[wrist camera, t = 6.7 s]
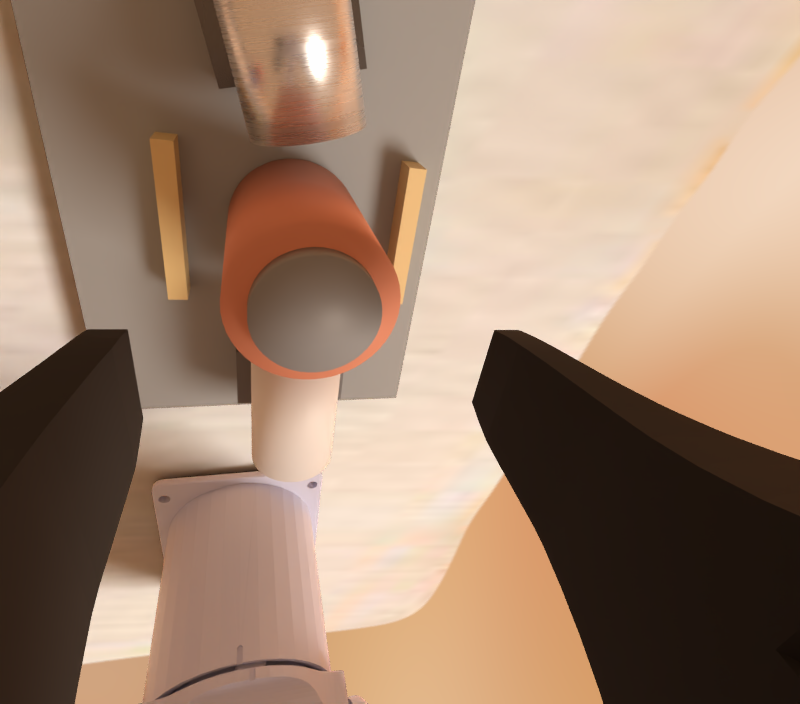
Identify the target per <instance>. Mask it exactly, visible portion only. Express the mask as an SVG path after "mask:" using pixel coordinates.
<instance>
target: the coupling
mask: <svg viewBox="0 0 800 704" xmlns="http://www.w3.org/2000/svg"><path fill="white" fill-rule="evenodd" d="M400 299H401V294H400V285H399V281H398V277H397V274H396V271H395V269H394V267H393V265H392V263H391V261H390V260H389V258H388V256H387V255H386V253H385V251H384V250H383V248H382V246H381V245H380V243H379V241H378V240H377V238H376V236H375V235H374V233H373V232H372V230H371V228H370V227H369V225H368V223H367V222H366V220H365V218H364V217H363V215H362V213H361V212H360V210H359V208H358V207H357V205H356V203H355V202H354V200H353V198H352V197H351V195H350V193H349V192H348V190H347V188H346V187H345V186H344V184H343V183H342V182H341V181H340V180H339V179H338V178H337V177H336V176H335V175H334V174H333V173H331V172H330V171H329V170H327V169H326V168H324V167H322V166H320V165H318V164H315V163H313V162H310V161H306V160H301V159H280V160H274V161H271V162H268V163H265V164H263V165H261V166H259V167H257V168H256V169H254V170H252V171H251V172H250V173H249V174H248V175H246V176H245V177H244V178H243V180H242V181H241V182H240V183H239V184H238V186H237V188H236V189H235V191H234V193H233V195H232V198H231V200H230V204H229V208H228V218H227V228H226V239H225V250H224V261H223V272H222V283H221V294H220V313H221V318H222V322H223V325H224V328H225V331H226V333H227V335H228V337H229V338H230V340H231V342H232V343H233V345H234V346H235V347H236V348H237V350H238V351H239V352H240V353H241V354H242V355H243V356H244V357H245V358H246V359H248V360H249V361H250V362H252V363H253V364H255V365H256V366H258V367H260V368H261V369H263V370H266V371H268V372H270V373H272V374H276V375H279V376H282V377H287V378H293V379H320V378H327V377H331V376H335V375H338V374H341V373H344V372H347V371H349V370H351V369H353V368H355V367H357V366H358V365H360V364H362V363H363V362H365V361H366V360H367V359H369V358H370V357H371V356H373V355H374V354H375V353H376V352H377V351H378V350H379V349H380V348H381V346H382V345H383V344H384V343H385V342H386V340H387V339H388V337H389V336H390V334H391V332H392V330H393V328H394V326H395V324H396V321H397V318H398V315H399V309H400Z"/></svg>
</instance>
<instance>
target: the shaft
mask: <svg viewBox="0 0 800 704" xmlns="http://www.w3.org/2000/svg"><path fill="white" fill-rule="evenodd" d="M194 3H195V6H196V10H197V13H198V17H199V20H200V24H201V28H202V31H203V35H204V38H205V42H206V45H207V49H208V52H209V56H210V59H211V63H212V66H213V70H214V73H215V77H216V80H217V84H218V87H219V89H223V88H230V87H236V90H237V94H238V97H239V101H240V105H241V109H242V112H243V116H244V120H245V124H246V128H247V131H248V135H249V139H250V142H251V143H253V144H256V145H260V146H273V147H280V146H297V145H306V144H313V143H319V142H325V141H330V140H334V139H338V138H342V137H346V136H349V135H352V134H354V133H357V132H359V131H361V130H362V129H364V128H365V127H366V116H365V108H364V100H363V92H362V84H361V76H360V70H362V69H367V65H366V56H365V47H364V39H363V30H362V22H361V13H360V4H359V0H194Z"/></svg>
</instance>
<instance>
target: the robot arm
mask: <svg viewBox="0 0 800 704" xmlns="http://www.w3.org/2000/svg"><path fill="white" fill-rule="evenodd" d="M472 403H473V406H474V409H475V412H476V415H477V418H478V420H479V423H480V426H481V428H482V431H483V433H484V436H485V438H486V441H487V443H488V444H489V446H490V448H491V450H492V452H493V454H494V456H495V458H496V459H497V461H498V463H499V465H500V467H501V469H502V470H503V472H504V474H505V476H506V477H507V479H508V481H509V483H510V485H511V486H512V488H513V490H514V492H515V494H516V495H517V497H518V499H519V501H520V503H521V504H522V506H523V508H524V510H525V512H526V513H527V515H528V517H529V519H530V521H531V522H532V524H533V526H534V528H535V530H536V532H537V534H538V536H539V538H540V540H541V542H542V544H543V546H544V548H545V551H546V553H547V555H548V558H549V560H550V563H551V565H552V567H553V570H554V572H555V574H556V577H557V579H558V581H559V584H560V586H561V588H562V591H563V593H564V596H565V599H566V601H567V604H568V606H569V609H570V611H571V614H572V616H573V619H574V622H575V624H576V627H577V629H578V632H579V634H580V637H581V640H582V643H583V646H584V648H585V651H586V654H587V657H588V660H589V662H590V665H591V668H592V671H593V674H594V677H595V680H596V683H597V685H598V688H599V691H600V694H601V697H602V700H603V704H800V460H798V459H794V458H792V457H789V456H786V455H782V454H780V453H777V452H774V451H771V450H769V449H766V448H763V447H760V446H758V445H755V444H752V443H749V442H747V441H744V440H741V439H739V438H736V437H733V436H731V435H728V434H726V433H723V432H721V431H719V430H716V429H714V428H711V427H709V426H707V425H704V424H702V423H700V422H697V421H695V420H693V419H691V418H688V417H686V416H684V415H681V414H679V413H677V412H675V411H673V410H671V409H669V408H666V407H664V406H662V405H660V404H658V403H656V402H654V401H652V400H650V399H648V398H646V397H644V396H642V395H640V394H638V393H636V392H634V391H632V390H631V389H629V388H627V387H625V386H623V385H621V384H619V383H617V382H616V381H613V380H612V379H610V378H608V377H606V376H604V375H603V374H601V373H599V372H597V371H596V370H594V369H592V368H590V367H588V366H587V365H585V364H583V363H581V362H579V361H578V360H576V359H574V358H572V357H571V356H569V355H567V354H565V353H563V352H562V351H560V350H558V349H556V348H554V347H553V346H551V345H549V344H547V343H545V342H543V341H541V340H539V339H537V338H535V337H533V336H531V335H529V334H527V333H524V332H522V331H519V330H494V333H493V336H492V339H491V343H490V346H489V349H488V352H487V356H486V359H485V362H484V365H483V369H482V372H481V375H480V378H479V381H478V385H477V388H476V391H475V394H474V398H473V401H472ZM142 422H143V415H142V409H141V403H140V397H139V392H138V386H137V380H136V374H135V368H134V362H133V357H132V351H131V345H130V339H129V333H128V329H87V330H86V331H84V332H83V333H81V334H80V335H78V336H77V337H75V338H74V339H73V340H71V341H70V342H68V343H67V344H66V345H64V346H63V347H62V348H60V349H59V350H58V351H56V352H55V353H54V354H52V355H51V356H50V357H48V358H47V359H45V360H44V361H43V362H41V363H40V364H39V365H37V366H36V367H35V368H33V369H32V370H30V371H29V372H28V373H26V374H25V375H23V376H22V377H21V378H19V379H18V380H17V381H15V382H14V383H12V384H11V385H10V386H8V387H7V388H5V389H4V390H3V391H1V392H0V704H75V698H76V693H77V687H78V682H79V677H80V671H81V666H82V661H83V656H84V651H85V646H86V641H87V636H88V631H89V626H90V621H91V616H92V612H93V608H94V604H95V600H96V596H97V593H98V589H99V585H100V582H101V579H102V575H103V572H104V569H105V566H106V562H107V559H108V556H109V553H110V549H111V546H112V543H113V540H114V536H115V533H116V530H117V527H118V523H119V520H120V517H121V514H122V510H123V507H124V504H125V501H126V497H127V494H128V491H129V487H130V484H131V481H132V477H133V474H134V470H135V467H136V461H137V455H138V449H139V443H140V436H141V429H142ZM310 482H312V483H310ZM321 486H322V472H321V473H319V474H318V475H316V476H315V477H313V478H310V479H307V480H304V481H299V482H282V481H277V480H274V479H271V478H269V477H267V476H265V475H264V474H262V473H261V472H260V471H255V472H243V473H231V474H219V475H207V476H196V477H184V478H172V479H162V480H158V481H156V482H155V483H154V484H153V487H152V497H153V503H154V508H155V514H156V519H157V525H158V530H159V536H160V542H161V547H162V553H163V558H164V564H163V570H162V577H161V584H160V590H159V597H158V604H157V610H156V617H155V623H154V630H153V637H152V643H151V650H150V657H149V664H148V670H147V676H146V683H145V690H144V696H143V703H140V704H368V703H367V702H366V701H365V700H364V699H363V698H362V697H360V696H357V695H355V696H351V697H347V690H346V684H345V677H344V671H342V670H340V671H331V669H330V661H329V653H328V646H327V638H326V630H325V623H324V615H323V607H322V600H321V592H320V584H319V577H318V569H317V561H316V554H315V543H316V534H317V524H318V514H319V505H320V495H321Z"/></svg>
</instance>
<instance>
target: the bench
mask: <svg viewBox="0 0 800 704" xmlns="http://www.w3.org/2000/svg"><path fill="white" fill-rule="evenodd" d="M11 4H12V8H13V12H14V17H15V21H16V26H17V30H18V34H19V39H20V43H21V47H22V52H23V56H24V61H25V65H26V69H27V74H28V78H29V82H30V87H31V91H32V96H33V100H34V104H35V109H36V113H37V117H38V122H39V126H40V130H41V135H42V139H43V144H44V148H45V152H46V157H47V161H48V165H49V170H50V174H51V179H52V183H53V187H54V192H55V196H56V200H57V205H58V209H59V214H60V218H61V222H62V227H63V231H64V235H65V240H66V244H67V248H68V253H69V257H70V262H71V266H72V270H73V275H74V279H75V283H76V288H77V292H78V297H79V301H80V305H81V310H82V314H83V318H84V323H85V327H86V330H87V329H128V333H129V339H130V345H131V351H132V357H133V362H134V368H135V374H136V380H137V386H138V392H139V397H140V403H141V409H148V408H171V407H194V406H217V405H240V404H251V417H252V459H253V463H254V465H255V466H256V468H257V469H258V470H259V471H260V472H261V473H262V474H264V475H265V476H267V477H269V478H271V479H274V480H277V481H282V482H299V481H304V480H307V479H310V478H313V477H315V476H316V475H318V474H319V473H321V472H322V471H323V470H324V469H325V468H326V467H327V465H328V464H329V461H330V459H331V453H332V444H333V435H334V427H335V418H336V409H337V400H356V399H379V398H396V395H397V390H398V385H399V380H400V375H401V370H402V365H403V360H404V355H405V350H406V345H407V340H408V335H409V330H410V325H411V320H412V315H413V310H414V305H415V300H416V295H417V290H418V285H419V280H420V275H421V270H422V265H423V260H424V255H425V250H426V245H427V240H428V235H429V230H430V225H431V220H432V215H433V210H434V205H435V200H436V195H437V190H438V185H439V180H440V175H441V170H442V165H443V160H444V155H445V150H446V145H447V140H448V135H449V130H450V125H451V119H452V114H453V109H454V104H455V99H456V94H457V89H458V84H459V79H460V74H461V69H462V64H463V59H464V54H465V49H466V44H467V39H468V34H469V29H470V24H471V19H472V14H473V9H474V4H475V0H359V4H360V13H361V22H362V30H363V39H364V47H365V56H366V65H367V69H362V70H360V76H361V84H362V92H363V100H364V108H365V116H366V127H365V128H364V129H362V130H361V131H359V132H357V133H354V134H352V135H349V136H346V137H342V138H338V139H334V140H330V141H325V142H319V143H313V144H306V145H297V146H280V147H273V146H260V145H256V144H253V143H251V142H250V139H249V135H248V131H247V128H246V124H245V120H244V116H243V112H242V109H241V105H240V101H239V97H238V94H237V90H236V87H230V88H223V89H219V87H218V84H217V80H216V77H215V73H214V70H213V66H212V63H211V59H210V56H209V52H208V49H207V45H206V42H205V38H204V35H203V31H202V28H201V24H200V20H199V17H198V13H197V10H196V6H195V3H194V0H11ZM280 159H301V160H306V161H310V162H313V163H315V164H318V165H320V166H322V167H324V168H326V169H327V170H329V171H330V172H331V173H333V174H334V175H335V176H336V177H337V178H338V179H339V180H340V181H341V182H342V183H343V184H344V186H345V187H346V188H347V190H348V192H349V193H350V195H351V197H352V198H353V200H354V202H355V203H356V205H357V207H358V208H359V210H360V212H361V213H362V215H363V217H364V218H365V220H366V222H367V223H368V225H369V227H370V228H371V230H372V232H373V233H374V235H375V236H376V238H377V240H378V241H379V243H380V245H381V246H382V248H383V250H384V251H385V253H386V255H387V256H388V258H389V260H390V261H391V263H392V265H393V267H394V269H395V271H396V274H397V277H398V281H399V285H400V294H401V299H400V309H399V315H398V318H397V321H396V324H395V326H394V328H393V330H392V332H391V334H390V336H389V337H388V339H387V340H386V342H385V343H384V344H383V345H382V346H381V348H380V349H379V350H378V351H377V352H376V353H375V354H374V355H373V356H371V357H370V358H369V359H367V360H366V361H365V362H363V363H362V364H360V365H358V366H357V367H355V368H353V369H351V370H349V371H347V372H344V373H341V374H338V375H335V376H331V377H327V378H320V379H293V378H287V377H282V376H279V375H276V374H272V373H270V372H268V371H266V370H263V369H261V368H260V367H258V366H256V365H255V364H253V363H252V362H250V361H249V360H248V359H246V358H245V357H244V356H243V355H242V354H241V353H240V352H239V351H238V350H237V348H236V347H235V346H234V345H233V343H232V342H231V340H230V338H229V337H228V335H227V333H226V331H225V328H224V325H223V322H222V318H221V313H220V294H221V283H222V272H223V261H224V250H225V239H226V228H227V218H228V208H229V204H230V200H231V198H232V195H233V193H234V191H235V189H236V188H237V186H238V184H239V183H240V182H241V181H242V180H243V178H244V177H245V176H246V175H248V174H249V173H250V172H251V171H252V170H254V169H256V168H257V167H259V166H261V165H263V164H265V163H268V162H271V161H274V160H280Z"/></svg>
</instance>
